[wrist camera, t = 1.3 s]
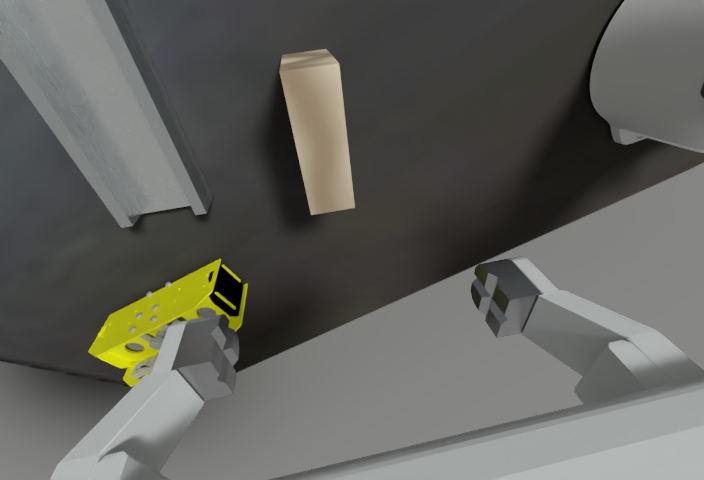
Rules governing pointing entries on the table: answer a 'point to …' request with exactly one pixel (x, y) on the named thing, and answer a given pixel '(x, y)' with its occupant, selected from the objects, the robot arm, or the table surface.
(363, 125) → the table surface
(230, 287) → the yellow toy chassis
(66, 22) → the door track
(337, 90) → the tan rectangular block
